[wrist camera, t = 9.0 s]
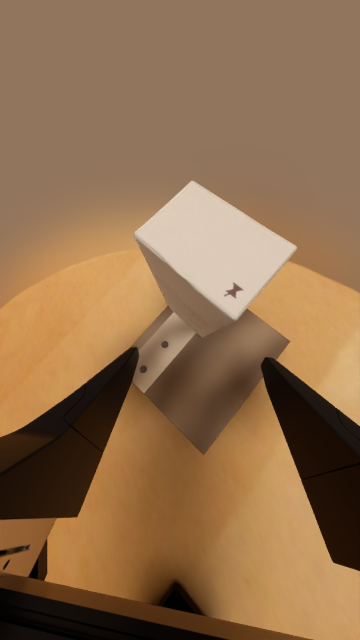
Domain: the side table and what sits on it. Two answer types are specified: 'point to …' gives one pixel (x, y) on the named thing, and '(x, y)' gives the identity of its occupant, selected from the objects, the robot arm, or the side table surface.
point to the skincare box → (209, 257)
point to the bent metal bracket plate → (203, 371)
